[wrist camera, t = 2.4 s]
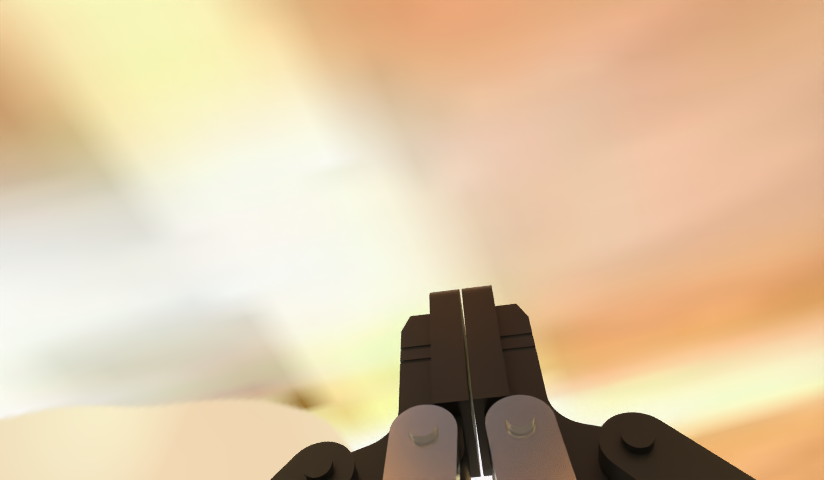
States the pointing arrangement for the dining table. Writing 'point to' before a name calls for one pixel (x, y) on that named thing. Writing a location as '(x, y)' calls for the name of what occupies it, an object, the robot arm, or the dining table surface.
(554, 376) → the dining table surface
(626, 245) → the dining table surface
